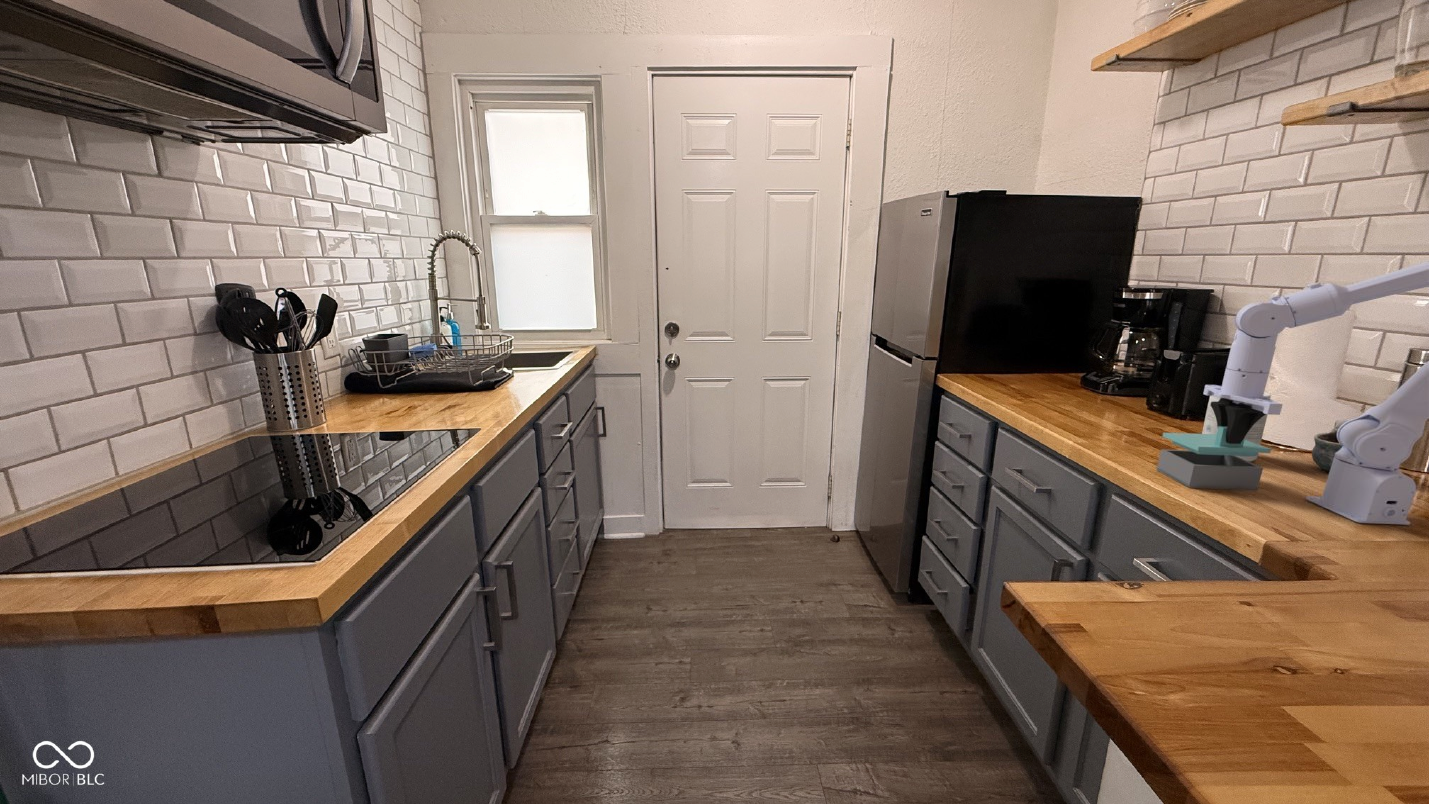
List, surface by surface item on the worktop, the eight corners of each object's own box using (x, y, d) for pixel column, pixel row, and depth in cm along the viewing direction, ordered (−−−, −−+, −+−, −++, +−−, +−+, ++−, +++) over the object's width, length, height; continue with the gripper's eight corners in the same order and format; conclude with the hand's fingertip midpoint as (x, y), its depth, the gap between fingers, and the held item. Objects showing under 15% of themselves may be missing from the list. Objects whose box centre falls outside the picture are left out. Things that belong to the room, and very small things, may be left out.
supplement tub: (1262, 458, 121) (1279, 392, 117) (1248, 467, 115) (1266, 398, 112) (1205, 445, 128) (1220, 384, 125) (1190, 453, 123) (1205, 389, 120)
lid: (1268, 458, 102) (1275, 430, 101) (1196, 456, 103) (1202, 428, 102) (1227, 443, 111) (1233, 417, 110) (1161, 441, 112) (1166, 415, 111)
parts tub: (1257, 490, 104) (1263, 467, 103) (1188, 487, 105) (1194, 465, 104) (1219, 472, 113) (1224, 451, 111) (1156, 470, 114) (1161, 449, 112)
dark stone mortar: (1318, 476, 111) (1331, 428, 108) (1291, 458, 121) (1302, 413, 119) (1387, 485, 106) (1403, 434, 104) (1353, 465, 117) (1366, 419, 115)
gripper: (1193, 362, 107) (1178, 429, 111) (1257, 378, 93) (1238, 454, 97) (1232, 362, 107) (1216, 430, 110) (1303, 378, 93) (1282, 455, 96)
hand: (1229, 441), depth 103 cm, fingers closed on lid
